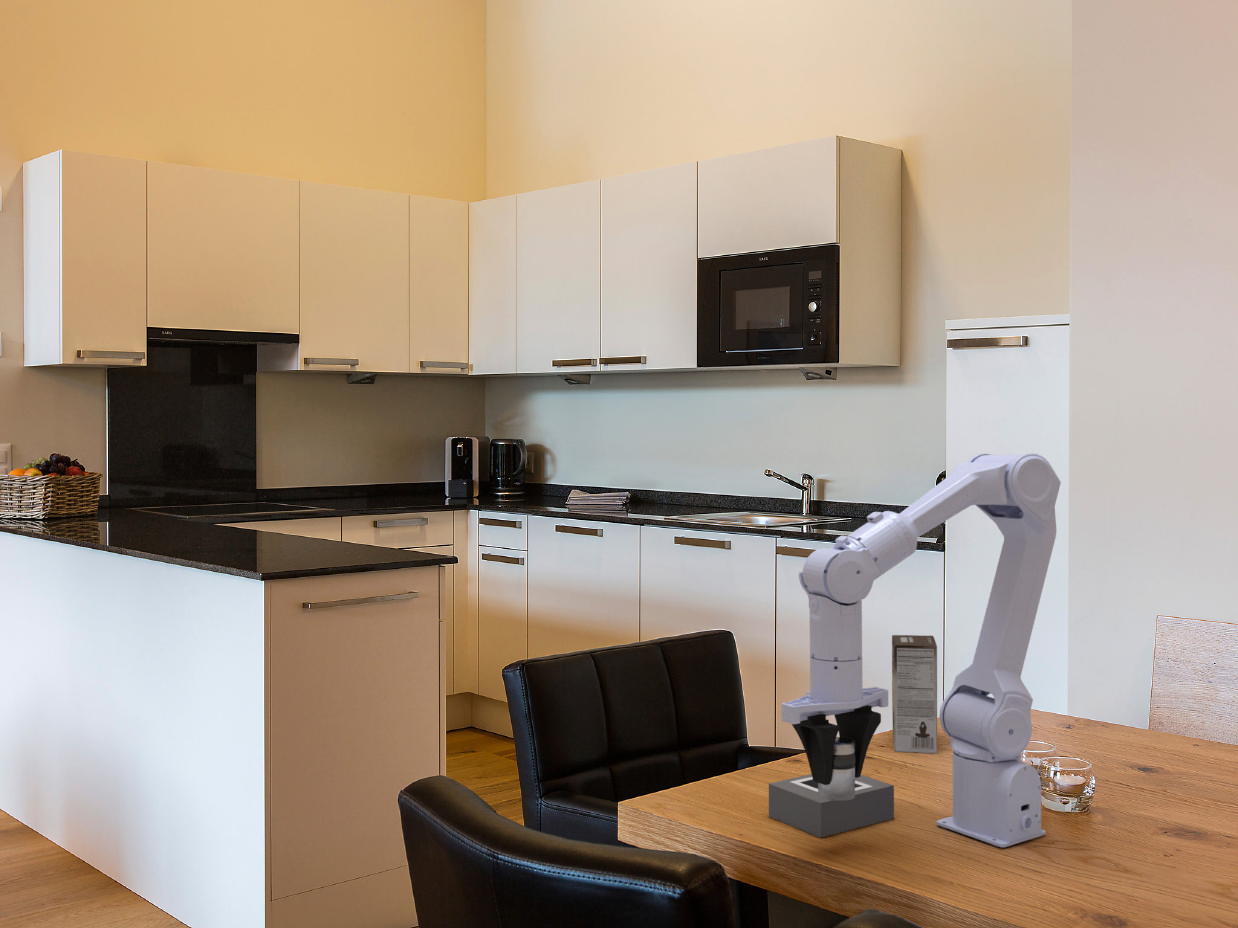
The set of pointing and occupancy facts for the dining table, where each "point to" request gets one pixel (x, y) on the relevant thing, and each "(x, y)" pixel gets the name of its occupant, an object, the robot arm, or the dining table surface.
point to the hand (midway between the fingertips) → (836, 778)
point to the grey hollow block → (830, 805)
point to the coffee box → (914, 693)
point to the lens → (841, 772)
